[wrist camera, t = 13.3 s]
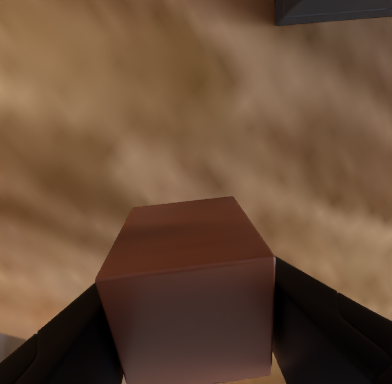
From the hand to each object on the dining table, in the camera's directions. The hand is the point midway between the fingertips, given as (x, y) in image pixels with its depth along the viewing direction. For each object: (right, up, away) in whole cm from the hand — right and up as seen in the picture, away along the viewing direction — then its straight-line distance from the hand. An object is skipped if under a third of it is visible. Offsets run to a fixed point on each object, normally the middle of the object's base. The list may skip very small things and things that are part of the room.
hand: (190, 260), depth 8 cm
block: (0, 0, +1) cm, 1 cm away
